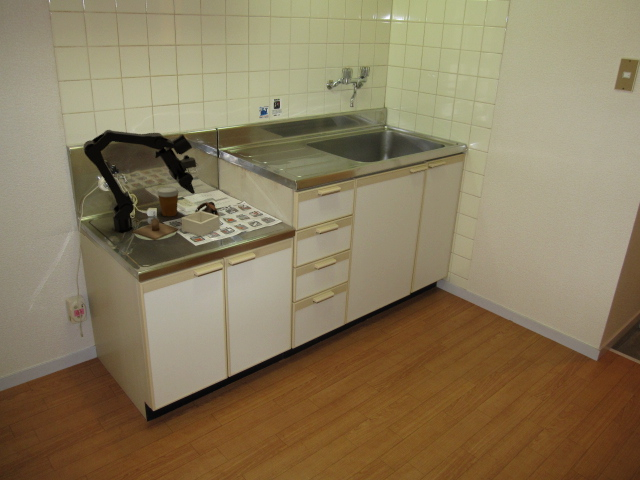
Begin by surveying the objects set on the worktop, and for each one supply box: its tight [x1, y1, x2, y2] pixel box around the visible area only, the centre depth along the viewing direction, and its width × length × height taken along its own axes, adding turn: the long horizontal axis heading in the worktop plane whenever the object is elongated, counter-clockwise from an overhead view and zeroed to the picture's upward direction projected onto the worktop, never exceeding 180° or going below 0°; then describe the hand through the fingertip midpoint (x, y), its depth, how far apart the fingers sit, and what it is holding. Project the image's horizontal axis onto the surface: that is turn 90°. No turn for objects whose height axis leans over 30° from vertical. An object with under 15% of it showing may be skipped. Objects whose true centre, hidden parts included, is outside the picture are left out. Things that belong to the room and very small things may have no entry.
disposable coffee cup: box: [156, 185, 180, 217], centre depth 243 cm, size 10×10×12 cm
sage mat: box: [134, 223, 178, 241], centre depth 226 cm, size 17×17×1 cm
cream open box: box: [180, 210, 221, 237], centre depth 229 cm, size 11×11×6 cm
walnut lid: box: [132, 218, 180, 241], centre depth 225 cm, size 13×13×5 cm
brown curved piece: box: [194, 201, 220, 217], centre depth 244 cm, size 12×10×8 cm
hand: (191, 190), depth 234 cm, fingers open, 9 cm apart
